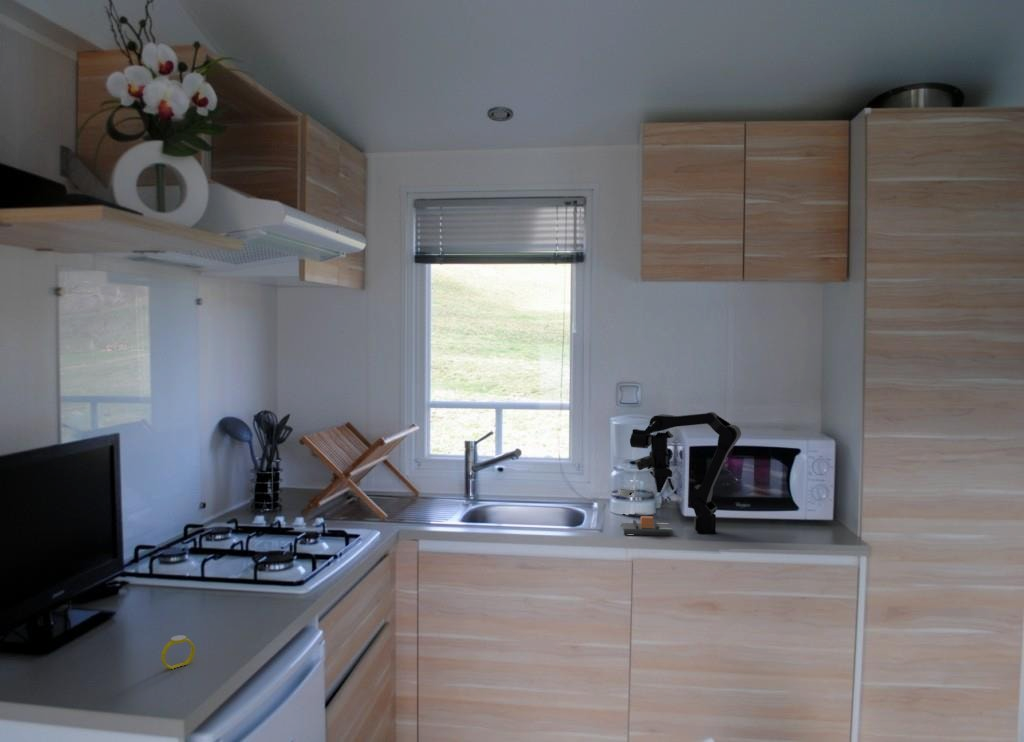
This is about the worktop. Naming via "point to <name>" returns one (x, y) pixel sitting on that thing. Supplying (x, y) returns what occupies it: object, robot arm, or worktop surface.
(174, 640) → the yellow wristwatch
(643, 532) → the dark grey rod
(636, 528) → the panel
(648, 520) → the orange block
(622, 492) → the cup
